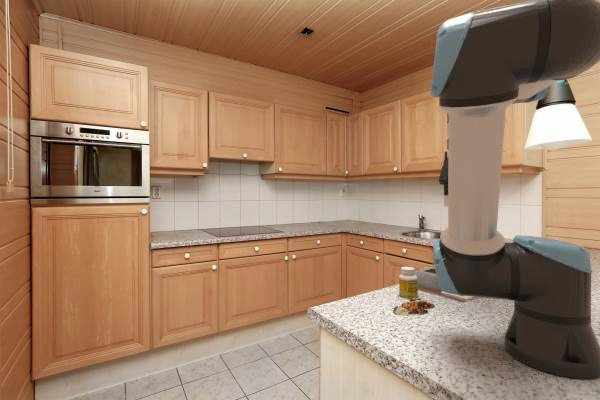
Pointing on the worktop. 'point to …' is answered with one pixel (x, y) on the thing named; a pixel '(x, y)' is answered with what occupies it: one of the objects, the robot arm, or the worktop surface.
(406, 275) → the supplement bottle
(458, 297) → the mat
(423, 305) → the brown mottled lumpy part
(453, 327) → the worktop surface
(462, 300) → the board
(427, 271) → the eye block
